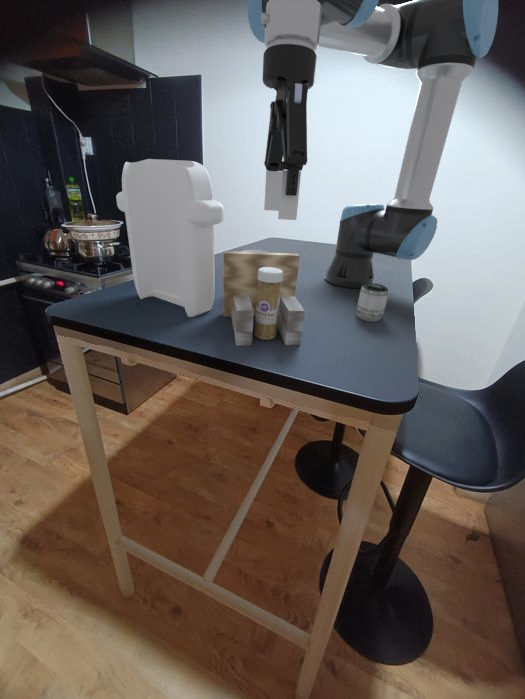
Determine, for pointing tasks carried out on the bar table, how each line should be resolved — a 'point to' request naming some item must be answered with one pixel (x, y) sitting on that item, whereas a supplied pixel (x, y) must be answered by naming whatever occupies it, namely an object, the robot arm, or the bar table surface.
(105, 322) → the bar table surface
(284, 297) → the headboard stand
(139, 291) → the white contoured slab
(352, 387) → the bar table surface
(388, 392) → the bar table surface
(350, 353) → the bar table surface
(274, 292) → the sprinkles bottle
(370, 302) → the camera lens
